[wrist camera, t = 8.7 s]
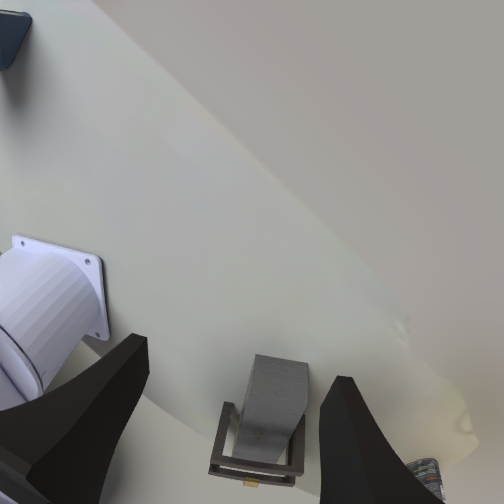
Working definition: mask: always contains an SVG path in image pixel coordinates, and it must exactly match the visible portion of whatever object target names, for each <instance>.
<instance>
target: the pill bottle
mask: <svg viewBox="0 0 504 504" xmlns="http://www.w3.org/2000/svg"><path fill="white" fill-rule="evenodd" d="M406 467H407V468H408V469H409V470H410V471H411V472H412V474H413V475H414V476H415V477H416V478H417V479H418V480H419V481H420V482H421V483H422V484H423V485H424V486H425V487H426V488H427V489H428V490H429V491H431V492H432V493H433V494H434V495H435V496H436V497H438V498H439V499H440V500H441V501H443V502H444V503H446V500H445V493H444V489H443V485H442V480H441V475H440V471H439V466H438V462H437V461H436V460H435V459H423V460H419V461H416V462H413V463H410V464H408V465H406Z"/></svg>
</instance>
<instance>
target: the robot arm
mask: <svg viewBox="0 0 504 504" xmlns="http://www.w3.org/2000/svg"><path fill="white" fill-rule="evenodd" d="M12 243H13V248H11V249H10V250H8V251H7V252H5V253H4V254H3V255H1V256H0V504H99V499H100V495H101V492H102V488H103V484H104V481H105V478H106V474H107V471H108V468H109V465H110V462H111V459H112V456H113V453H114V450H115V448H116V445H117V443H118V440H119V438H120V436H121V434H122V432H123V430H124V428H125V426H126V424H127V422H128V420H129V418H130V416H131V414H132V412H133V411H134V408H135V407H136V405H137V403H138V401H139V399H140V397H141V395H142V392H143V390H144V387H145V384H146V381H147V379H148V376H149V373H150V371H149V359H148V344H147V337H144V336H141V335H137V334H134V333H132V334H130V335H129V336H128V337H127V338H125V339H124V340H123V341H122V342H121V343H120V344H118V345H117V346H116V347H115V348H113V349H112V350H111V351H110V352H109V353H107V354H106V355H105V356H104V357H102V358H101V359H100V360H98V361H97V362H96V363H95V364H93V365H92V366H90V367H89V368H88V369H86V370H85V371H83V372H82V373H80V374H79V375H77V376H76V377H75V378H73V379H71V380H70V381H68V382H67V383H65V384H63V385H62V386H60V387H58V388H56V389H54V390H52V391H51V392H48V393H46V394H44V395H43V392H44V390H45V389H46V387H47V386H48V385H49V383H50V382H51V380H52V379H53V377H54V376H55V375H56V373H57V372H58V370H59V369H60V368H61V366H62V365H63V364H64V362H65V361H66V359H67V358H68V357H69V355H70V354H71V353H72V351H73V350H74V349H75V347H76V346H77V345H78V343H79V342H80V341H81V339H82V338H83V337H84V335H85V334H86V335H89V336H92V337H94V338H97V339H100V340H103V341H107V340H108V339H109V337H110V335H109V328H108V321H107V313H106V305H105V297H104V287H103V277H102V265H101V260H100V258H99V257H98V256H96V255H92V254H88V253H84V252H80V251H76V250H72V249H68V248H65V247H61V246H57V245H53V244H49V243H46V242H42V241H38V240H34V239H31V238H27V237H23V236H20V235H15V236H13V237H12ZM88 260H90V262H91V263H90V262H89V261H88ZM319 443H320V461H321V495H320V504H446V503H444V502H443V501H441V500H440V499H439V498H438V497H436V496H435V495H434V494H433V493H432V492H431V491H429V490H428V489H427V488H426V487H425V486H424V485H423V484H422V483H421V482H420V481H419V480H418V479H417V478H416V477H415V476H414V475H413V474H412V472H411V471H410V470H409V469H408V468H407V467H406V466H405V465H404V463H403V462H402V461H401V459H400V458H399V457H398V456H397V454H396V453H395V452H394V450H393V449H392V447H391V446H390V444H389V443H388V441H387V440H386V438H385V437H384V435H383V433H382V432H381V430H380V428H379V427H378V425H377V423H376V422H375V420H374V418H373V416H372V414H371V413H370V411H369V409H368V407H367V405H366V403H365V401H364V399H363V397H362V395H361V393H360V392H359V390H358V388H357V386H356V384H355V382H354V380H353V378H352V377H345V376H337V377H336V379H335V381H334V382H333V384H332V386H331V388H330V390H329V392H328V394H327V396H326V398H325V400H324V401H323V403H322V405H321V407H320V419H319Z"/></svg>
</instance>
